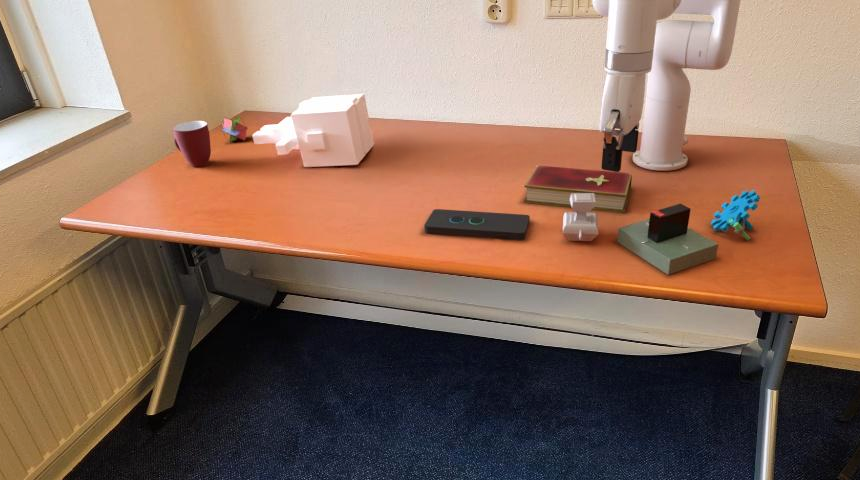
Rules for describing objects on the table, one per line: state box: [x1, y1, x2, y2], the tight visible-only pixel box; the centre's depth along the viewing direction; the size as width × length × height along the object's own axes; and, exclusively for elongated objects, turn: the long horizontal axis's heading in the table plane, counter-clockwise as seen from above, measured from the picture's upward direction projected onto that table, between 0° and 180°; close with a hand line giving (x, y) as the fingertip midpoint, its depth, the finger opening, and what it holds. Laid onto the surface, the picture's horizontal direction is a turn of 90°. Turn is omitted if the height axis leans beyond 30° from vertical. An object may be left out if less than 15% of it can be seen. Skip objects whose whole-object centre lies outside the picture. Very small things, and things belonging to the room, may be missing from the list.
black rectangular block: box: [647, 203, 692, 243], centre depth 118 cm, size 7×3×5 cm, turn 117°
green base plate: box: [616, 218, 719, 276], centre depth 120 cm, size 14×11×3 cm
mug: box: [172, 120, 212, 168], centre depth 165 cm, size 11×8×10 cm
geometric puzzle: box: [220, 115, 249, 144], centre depth 180 cm, size 7×7×8 cm
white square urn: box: [562, 193, 599, 242], centre depth 125 cm, size 9×7×8 cm
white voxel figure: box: [251, 93, 375, 168], centre depth 165 cm, size 15×25×28 cm
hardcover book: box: [523, 164, 633, 213], centre depth 142 cm, size 12×21×4 cm, turn 72°
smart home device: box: [423, 208, 531, 241], centre depth 131 cm, size 8×2×20 cm
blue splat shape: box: [710, 189, 761, 241], centre depth 125 cm, size 11×6×10 cm
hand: (619, 160), depth 116 cm, fingers open, 9 cm apart
